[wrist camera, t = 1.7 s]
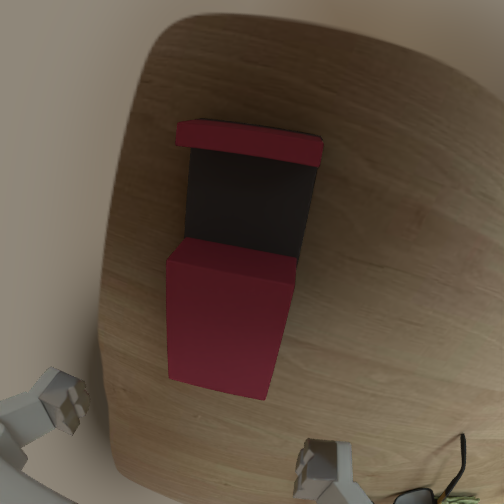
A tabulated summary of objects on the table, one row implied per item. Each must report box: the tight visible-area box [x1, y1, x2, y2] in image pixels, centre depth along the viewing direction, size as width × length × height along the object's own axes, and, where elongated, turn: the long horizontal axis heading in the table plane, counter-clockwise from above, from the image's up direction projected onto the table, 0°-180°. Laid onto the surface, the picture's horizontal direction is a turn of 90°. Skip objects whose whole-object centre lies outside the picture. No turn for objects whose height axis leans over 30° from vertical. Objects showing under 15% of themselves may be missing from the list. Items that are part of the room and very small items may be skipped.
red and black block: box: [166, 118, 324, 400], centre depth 16 cm, size 14×6×4 cm, turn 172°
